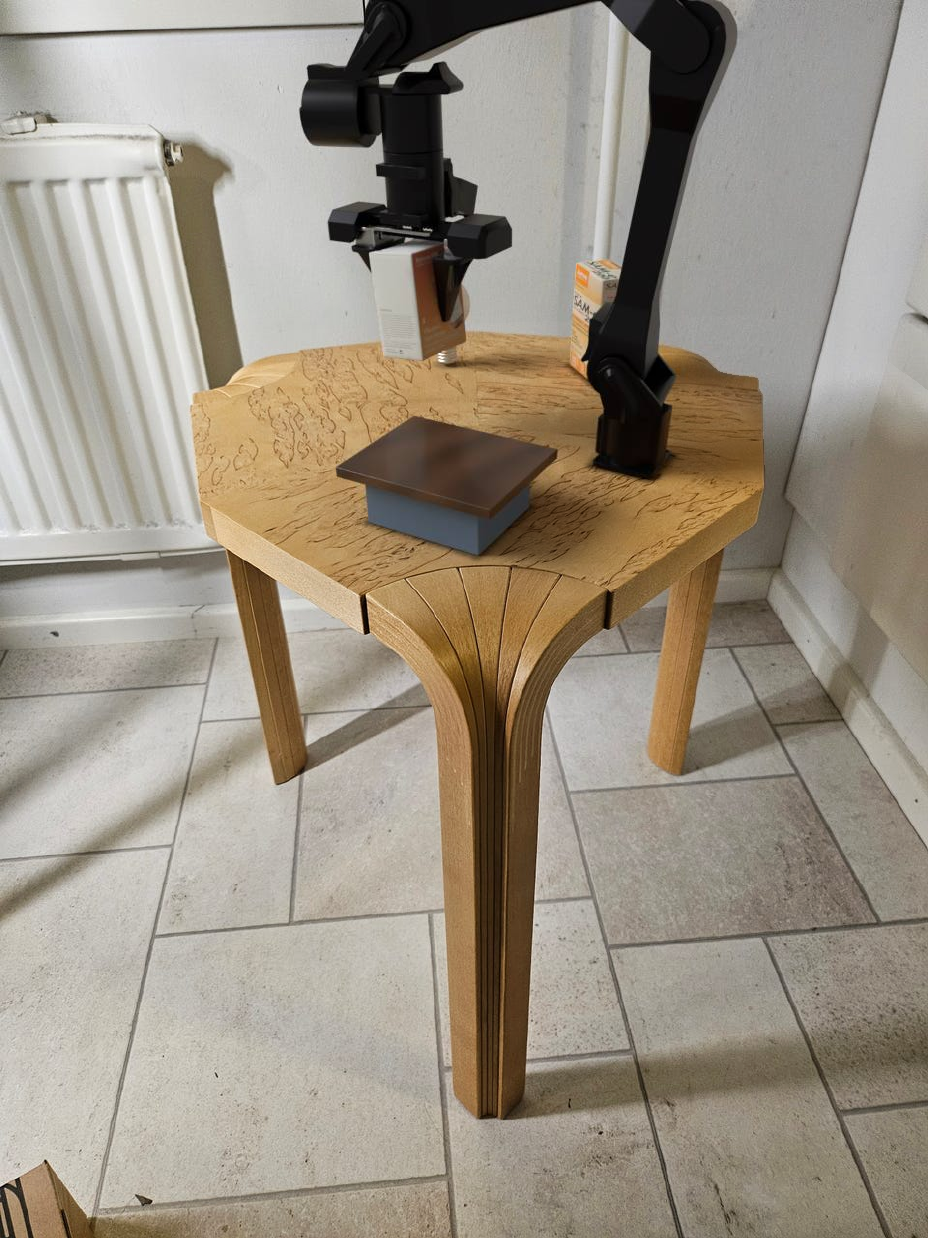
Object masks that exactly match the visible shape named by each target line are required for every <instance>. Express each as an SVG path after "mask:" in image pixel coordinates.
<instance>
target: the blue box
mask: <svg viewBox="0 0 928 1238" xmlns="http://www.w3.org/2000/svg"><path fill="white" fill-rule="evenodd" d="M364 487H365V496H366V497H365V498H366V509H367V520H368V523H369V524H372V525H375V526H379V527H383V528H386V529H388V530H391V531H396V532H399V533H403V534H407V535H409V536H412V537H415V538H419V539H421V540H425V541H428V542H432V543H435V544H439V545H441V546H445V547H448V548H452V549H455V550H458V551H461V552H465V553H468V554H471V555H474V556H480V555H481V554H482V553H483V552H484V551H485V550H486V549H487V548H489V546H490V545H491V544H493V543H494V541H496V539H498V537H499V536H501V535H502V534H503V533H504V532H505V531H506V530H507V529H508V528H509V527H511V525H512V524H513V523H514V522H516V520H517V519H519V518H520V516H522V514H524V512H526V511H527V510H528V509H529V507H530V493H531V492H530V491H531V490H530V489H531V483H530V484H529V485H527V486H526V487H525V488H524V489H523V490H522V491H521V492H520V493H519V494H518V495H517V496H515V497H514V498H513V499H512V500H511V501H510V502H509V503H508V504H507V505H506V506H505V507H503V508H502V509H501V510H500V511H499V512H498V513H497V514H496V515H495V516H494V517H493V518H491V519H490V520H489V519H485V518H482V517H478V516H475V515H471V514H468V513H464V512H460V511H457V510H453V509H450V508H446V507H443V506H439V505H436V504H432V503H428V502H425V501H421V500H418V499H414V498H411V497H407V496H404V495H400V494H397V493H393V492H389V491H386V490H382V489H379V488H375V487H372V486H368V485H365V484H364Z"/></svg>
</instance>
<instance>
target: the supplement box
mask: <svg viewBox="0 0 928 1238" xmlns="http://www.w3.org/2000/svg"><path fill="white" fill-rule="evenodd" d="M621 268H622V266H620V265H618V264H617V263H615V262H613V261H612V260H611V259H609V258H607V259H599V260H598V259H597V260H586V261H580V262H576V263H575V274H574V275H575V276H574V277H575V279H574V289H573V290H574V291H573V304H572V305H573V306H572V320H571V321H572V322H571V334H570V336H571V337H570V349H569V350H570V352H569V366H571V367H572V368H573V369H574V370H576V371H577V372H578V373H579V374H580V375H582V376H583V378H585V379H586V380H587V375H586V367H587V363H588V361H585V362H582V361H581V358H582V357H583V355H584V354H585V352H586V349H587V346H588V330H589V322H590V319H591V318H592V317H593V316H594V315H595V313H596V312H597V311H598V310H599V309H600V308H601V306H602V305H603V304H604V303H605V302H607V303H609V304H613V301H614V299H615V296H616V292H617V287H618V282H619V277H620V273H621Z"/></svg>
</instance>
